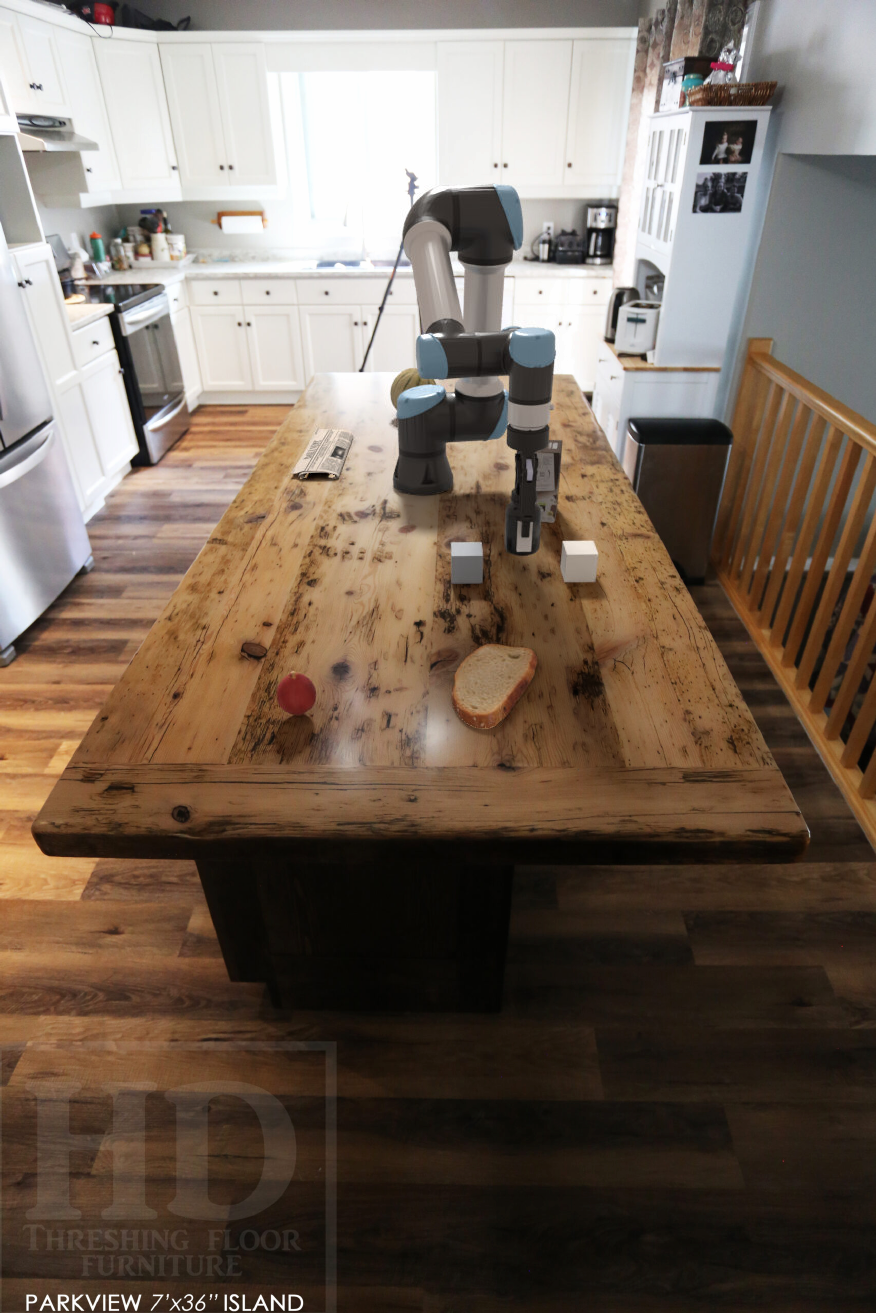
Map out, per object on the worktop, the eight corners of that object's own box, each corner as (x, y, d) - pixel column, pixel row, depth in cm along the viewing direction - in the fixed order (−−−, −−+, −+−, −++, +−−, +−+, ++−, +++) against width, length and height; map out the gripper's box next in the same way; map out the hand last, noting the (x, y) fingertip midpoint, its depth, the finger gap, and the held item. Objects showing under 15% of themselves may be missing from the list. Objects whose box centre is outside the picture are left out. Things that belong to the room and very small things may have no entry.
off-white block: (564, 582, 148) (566, 554, 144) (560, 568, 153) (562, 541, 149) (595, 582, 148) (598, 554, 144) (590, 568, 153) (593, 540, 149)
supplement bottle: (542, 543, 150) (546, 486, 143) (534, 559, 145) (538, 500, 138) (508, 539, 152) (511, 482, 145) (499, 554, 146) (502, 495, 140)
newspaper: (338, 481, 196) (337, 468, 194) (290, 481, 196) (289, 468, 194) (354, 437, 225) (353, 425, 223) (312, 438, 225) (311, 426, 223)
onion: (281, 703, 117) (274, 660, 112) (319, 701, 117) (313, 658, 112) (278, 727, 112) (270, 683, 107) (317, 725, 112) (311, 681, 108)
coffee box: (555, 523, 171) (560, 453, 162) (526, 521, 172) (530, 451, 163) (558, 507, 178) (563, 439, 169) (530, 505, 179) (534, 438, 170)
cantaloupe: (384, 414, 242) (382, 365, 234) (426, 408, 247) (425, 359, 239) (402, 426, 231) (400, 375, 223) (446, 420, 236) (445, 370, 228)
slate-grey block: (451, 584, 148) (451, 556, 145) (451, 569, 153) (451, 542, 150) (482, 583, 148) (483, 555, 144) (481, 569, 153) (481, 542, 149)
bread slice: (472, 736, 110) (472, 716, 108) (422, 672, 124) (421, 653, 122) (577, 703, 116) (579, 684, 114) (518, 646, 130) (519, 627, 128)
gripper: (556, 442, 126) (547, 565, 139) (543, 406, 142) (536, 520, 155) (511, 443, 126) (506, 566, 139) (503, 407, 142) (499, 520, 155)
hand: (521, 541), depth 147 cm, fingers closed on supplement bottle, 7 cm apart
